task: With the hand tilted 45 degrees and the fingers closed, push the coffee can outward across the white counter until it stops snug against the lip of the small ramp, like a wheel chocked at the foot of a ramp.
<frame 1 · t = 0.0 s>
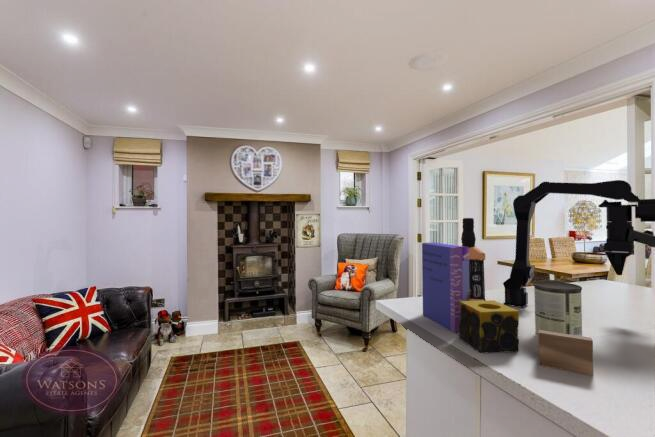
hand: (619, 273, 97), 15 cm above the kitchen island, tool pointing down, fingers open, 9 cm apart
coffee can: (557, 338, 84), on the kitchen island
whiskey bottle: (469, 308, 113), on the kitchen island
yellow cube with hole: (487, 345, 80), on the kitchen island
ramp: (562, 356, 73), on the kitchen island
cereal box: (444, 323, 97), on the kitchen island
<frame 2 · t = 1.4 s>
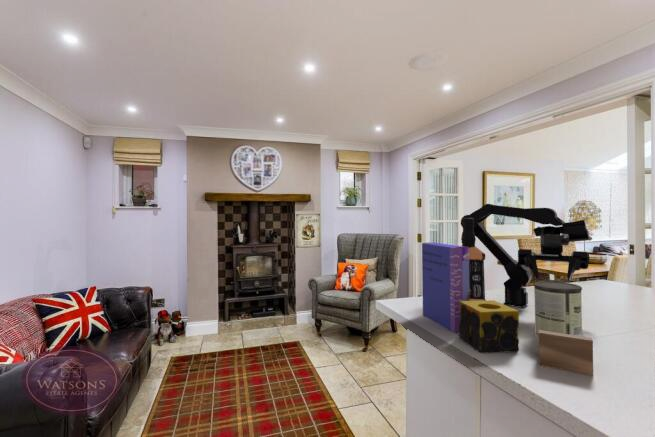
hand: (552, 279, 98), 13 cm above the kitchen island, tool tilted 45°, fingers open, 7 cm apart
nothing on the kitchen island moved.
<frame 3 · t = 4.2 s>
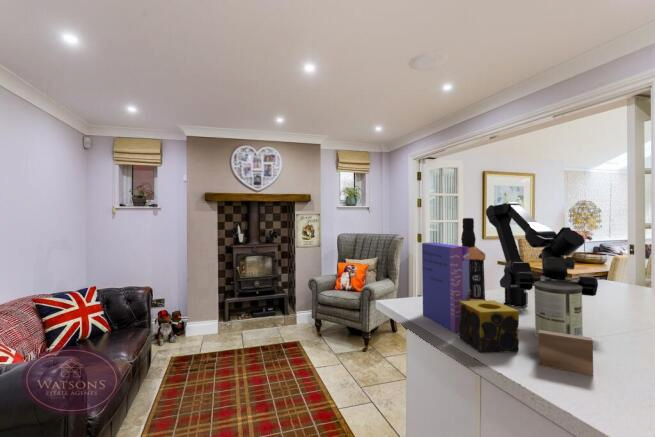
hand: (556, 308, 87), 7 cm above the kitchen island, tool tilted 45°, fingers closed, pressing on coffee can
coffee can: (558, 338, 83), on the kitchen island, touching gripper
everything else where it was.
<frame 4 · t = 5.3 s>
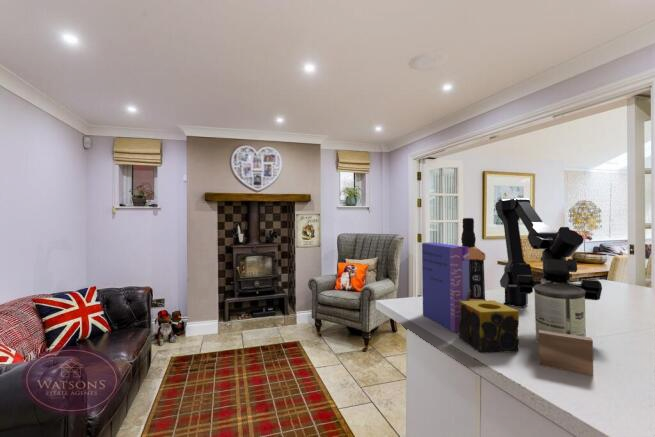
hand: (558, 313, 83), 7 cm above the kitchen island, tool tilted 45°, fingers closed, pressing on coffee can
coffee can: (559, 345, 79), on the kitchen island, touching gripper
everything else where it was.
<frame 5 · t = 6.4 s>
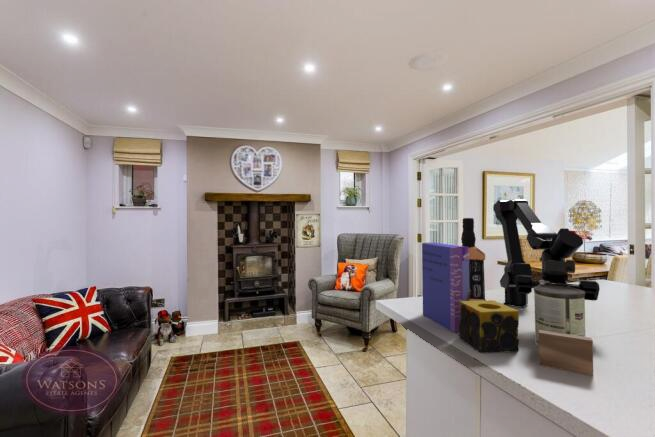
hand: (556, 313, 84), 6 cm above the kitchen island, tool tilted 45°, fingers closed
coffee can: (559, 347, 79), on the kitchen island
everything else where it was.
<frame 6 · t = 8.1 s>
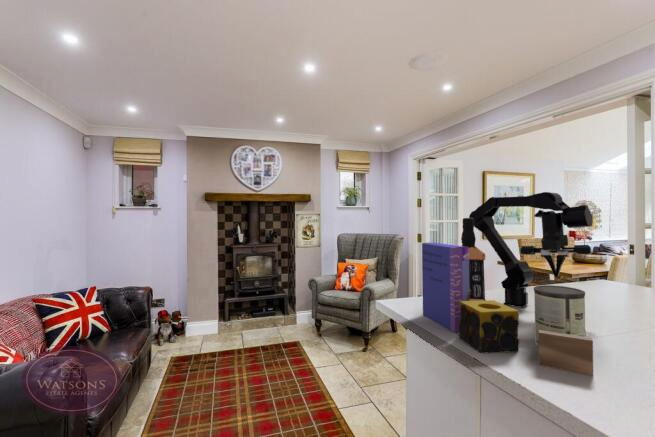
hand: (556, 276, 104), 12 cm above the kitchen island, tool pointing down, fingers closed
nothing on the kitchen island moved.
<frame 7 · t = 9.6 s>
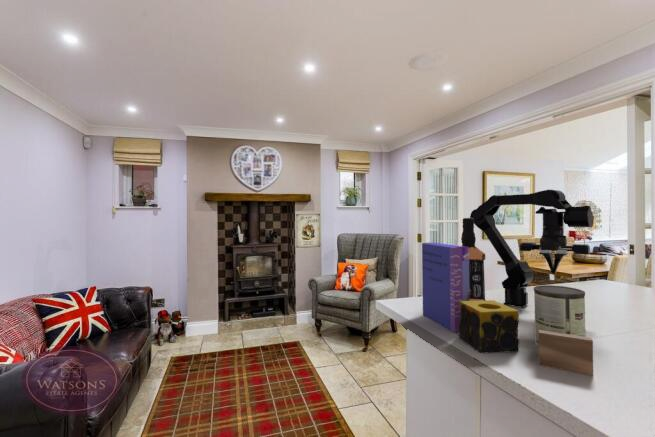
hand: (553, 273, 107), 13 cm above the kitchen island, tool pointing down, fingers closed
nothing on the kitchen island moved.
at the end: coffee can inside the target area on the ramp (0.4 cm from its centre), point 0.0 cm above the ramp's base; coffee can tilted 0°; coffee can moved 6.4 cm from its start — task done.
